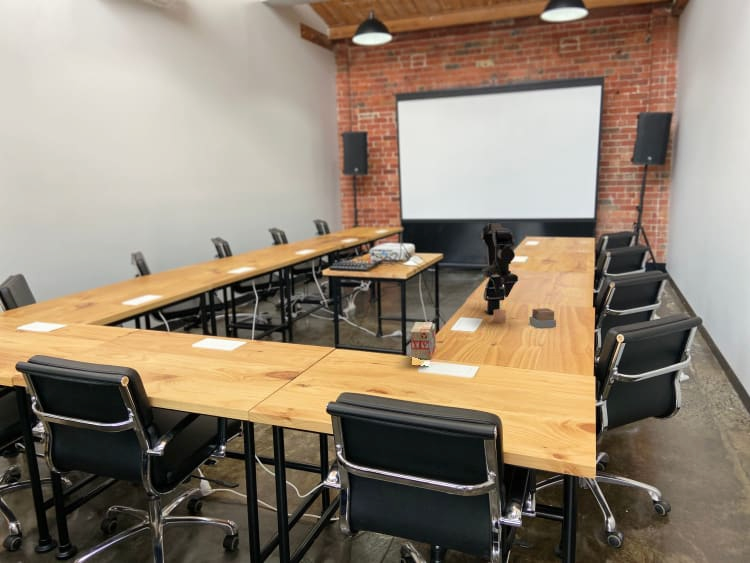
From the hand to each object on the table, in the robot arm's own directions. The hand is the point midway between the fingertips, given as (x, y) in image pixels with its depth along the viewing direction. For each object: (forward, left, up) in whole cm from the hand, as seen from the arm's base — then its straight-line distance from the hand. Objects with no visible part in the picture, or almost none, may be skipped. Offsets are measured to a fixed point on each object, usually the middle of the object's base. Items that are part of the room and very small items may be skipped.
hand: (501, 294), depth 232 cm
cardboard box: (+38, -43, -12) cm, 58 cm away
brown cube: (-1, -1, -12) cm, 12 cm away
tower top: (+9, +15, -9) cm, 19 cm away
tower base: (+9, +14, -12) cm, 21 cm away
